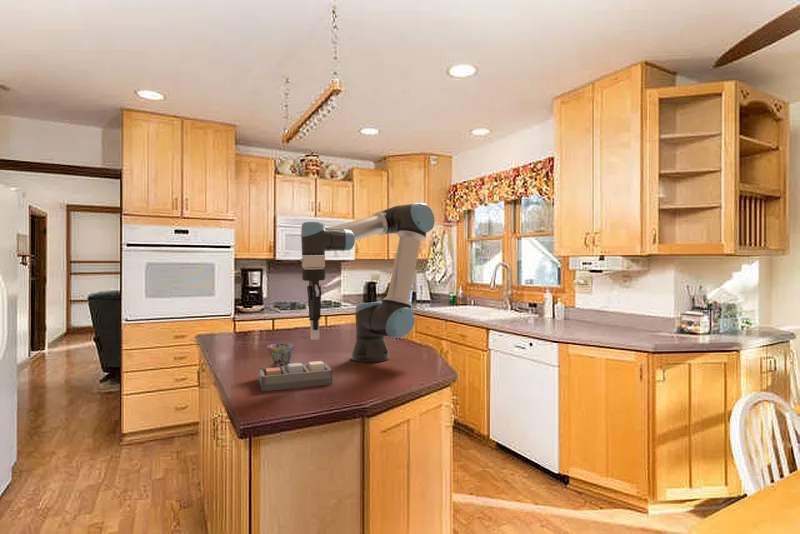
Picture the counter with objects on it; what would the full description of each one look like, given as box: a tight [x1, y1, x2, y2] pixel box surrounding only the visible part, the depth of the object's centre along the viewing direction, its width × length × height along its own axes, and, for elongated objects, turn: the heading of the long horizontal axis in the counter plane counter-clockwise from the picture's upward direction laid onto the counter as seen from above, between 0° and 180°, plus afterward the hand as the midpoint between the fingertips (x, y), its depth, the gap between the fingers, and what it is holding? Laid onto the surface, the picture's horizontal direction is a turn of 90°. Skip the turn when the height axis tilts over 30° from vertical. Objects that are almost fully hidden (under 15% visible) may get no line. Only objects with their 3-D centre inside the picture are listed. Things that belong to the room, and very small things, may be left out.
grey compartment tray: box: [258, 362, 333, 392], centre depth 150 cm, size 22×12×4 cm, turn 111°
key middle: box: [287, 362, 303, 374], centre depth 150 cm, size 4×4×2 cm
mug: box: [266, 342, 295, 367], centre depth 161 cm, size 12×9×11 cm
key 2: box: [308, 360, 325, 371], centre depth 153 cm, size 4×4×2 cm
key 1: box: [266, 367, 281, 376], centre depth 148 cm, size 4×4×2 cm
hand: (315, 339), depth 153 cm, fingers closed
